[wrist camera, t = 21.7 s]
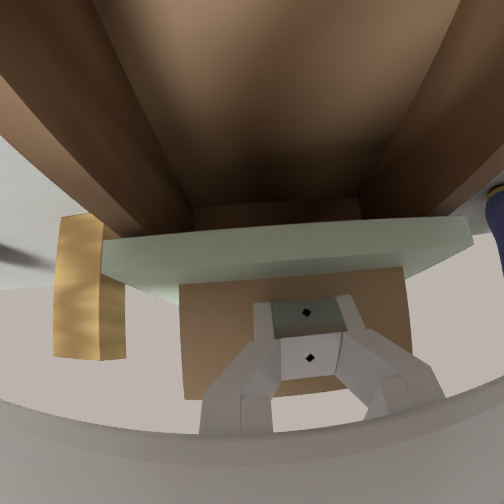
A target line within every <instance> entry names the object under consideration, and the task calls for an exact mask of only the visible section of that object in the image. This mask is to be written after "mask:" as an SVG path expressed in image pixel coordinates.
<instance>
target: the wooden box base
mask: <svg viewBox="0 0 504 504" xmlns="http://www.w3.org/2000/svg"><path fill="white" fill-rule="evenodd" d="M0 135H1V136H2V137H3V138H4V139H5V140H6V141H7V142H8V143H9V144H10V145H12V146H13V147H14V148H15V149H16V150H17V151H18V152H19V153H20V154H21V155H22V156H24V157H25V158H26V159H27V160H28V161H29V162H30V163H31V164H33V165H34V166H35V167H36V168H37V169H38V170H39V171H41V172H42V173H43V174H44V175H45V176H46V177H48V178H49V179H50V180H51V181H52V182H53V183H55V184H56V185H57V186H58V187H59V188H60V189H62V190H63V191H64V192H65V193H66V194H68V195H69V196H70V197H71V198H73V199H74V200H75V201H76V202H77V203H79V204H80V205H81V206H82V207H84V208H85V209H86V210H87V211H89V212H90V213H91V214H92V215H94V216H95V217H96V218H97V219H99V220H100V221H101V222H102V223H104V224H105V225H106V226H107V227H109V228H110V229H111V230H113V231H114V232H115V233H117V234H118V235H119V236H120V237H122V238H133V237H143V236H153V235H164V234H175V233H186V232H197V231H209V230H221V229H233V228H246V227H260V226H273V225H288V224H303V223H318V222H335V221H353V220H371V219H392V218H415V217H441V216H448V215H449V214H450V213H452V212H453V211H454V210H455V209H457V208H458V207H459V206H461V205H462V204H463V203H464V202H466V201H467V200H468V199H469V198H470V197H472V196H473V195H474V194H475V193H477V192H478V191H479V190H480V189H481V188H483V187H484V186H485V185H486V184H487V183H489V182H490V181H491V180H492V179H493V178H494V177H496V176H497V175H498V174H499V173H500V172H501V171H502V170H504V0H0Z"/></svg>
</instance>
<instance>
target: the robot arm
mask: <svg viewBox="0 0 504 504" xmlns="http://www.w3.org/2000/svg"><path fill="white" fill-rule="evenodd" d="M253 314H254V341H249V342H248V343H247V345H246V346H245V347H244V348H243V349H242V351H241V352H240V353H239V354H238V355H237V356H236V358H235V359H234V360H233V361H232V362H231V363H230V365H229V366H228V367H227V368H226V369H225V370H224V371H223V373H222V374H221V375H220V376H219V377H218V378H217V379H216V381H215V382H214V383H213V384H212V385H211V386H210V387H209V388H208V390H207V391H206V392H205V393H204V394H203V401H202V411H201V419H200V429H199V434H198V435H197V434H176V433H175V434H174V433H161V432H149V431H139V430H130V429H123V428H117V427H110V426H104V425H98V424H92V423H87V422H82V421H77V420H72V419H68V418H63V417H59V416H54V415H51V414H47V413H43V412H39V411H36V410H32V409H29V408H26V407H22V406H19V405H16V404H12V403H10V402H6V401H4V400H1V399H0V504H504V376H502V377H500V378H497V379H495V380H493V381H490V382H488V383H486V384H483V385H481V386H478V387H476V388H473V389H471V390H468V391H466V392H463V393H460V394H457V395H454V396H451V397H449V398H446V397H445V395H444V393H443V391H442V389H441V387H440V385H439V383H438V381H437V379H436V377H435V375H434V373H433V371H432V369H431V367H430V366H429V365H428V364H426V363H424V362H423V361H421V360H420V359H418V358H417V357H415V356H413V355H412V354H410V353H409V352H407V351H406V350H404V349H402V348H401V347H399V346H398V345H396V344H394V343H393V342H391V341H390V340H388V339H387V338H385V337H383V336H382V335H380V334H379V333H377V332H376V331H374V330H372V329H366V327H365V325H364V323H363V320H362V318H361V316H360V314H359V311H358V309H357V307H356V305H355V303H354V300H353V298H352V296H351V295H350V294H347V295H339V296H334V297H326V298H316V299H306V300H289V301H272V302H271V303H270V302H258V303H254V304H253ZM328 375H335V376H336V377H337V378H338V379H339V380H340V381H341V382H342V383H343V384H344V385H345V386H346V387H347V388H348V389H349V390H350V391H351V392H352V393H353V394H354V395H356V396H357V397H358V398H359V399H360V400H361V401H362V402H363V403H364V404H365V405H366V406H367V407H368V411H367V413H366V415H365V418H364V420H363V421H358V422H353V423H348V424H342V425H335V426H330V427H322V428H315V429H307V430H298V431H289V432H277V433H273V426H272V413H271V399H272V397H273V396H274V394H275V392H276V391H277V389H278V387H279V385H280V384H281V381H283V380H292V379H300V378H307V377H318V376H328Z"/></svg>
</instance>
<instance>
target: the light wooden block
mask: <svg viewBox="0 0 504 504" xmlns="http://www.w3.org/2000/svg"><path fill="white" fill-rule="evenodd" d="M113 239H123V238H122V237H120V236H119V235H118V234H117V233H115V232H114V231H113V230H111V229H110V228H109V227H107V226H106V225H105V224H104V223H102V222H101V221H100V220H99V219H97V218H96V217H95V216H94V215H92V214H91V213H87V214H81V215H75V216H69V217H63V218H61V223H60V230H59V238H58V246H57V255H56V266H55V279H54V299H53V350H54V356H56V357H64V358H74V359H84V360H95V361H104V360H115V359H125V358H126V338H125V284H124V283H122V282H120V281H118V280H115V279H113V278H111V277H109V276H106V275H104V274H102V273H101V263H102V248H103V240H113Z"/></svg>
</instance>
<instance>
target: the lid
mask: <svg viewBox="0 0 504 504" xmlns="http://www.w3.org/2000/svg"><path fill="white" fill-rule="evenodd" d="M472 245H474V243H473V239H472V234H471V230H470V226H469V222H468V219H467V216H441V217H415V218H392V219H371V220H353V221H335V222H318V223H303V224H288V225H273V226H260V227H246V228H233V229H221V230H209V231H197V232H186V233H175V234H164V235H153V236H143V237H133V238H123V239H113V240H103V248H102V263H101V273H102V274H104V275H106V276H109V277H111V278H113V279H115V280H118V281H120V282H122V283H124V284H127V285H129V286H131V287H134V288H136V289H139V290H141V291H143V292H146V293H148V294H151V295H153V296H155V297H158V298H160V299H163V300H165V301H168V302H170V303H173V304H175V305H178V306H179V314H180V336H181V337H180V339H181V357H182V371H183V386H184V398H185V400H203V394H204V393H205V392H206V391H207V390H208V388H209V387H210V386H211V385H212V384H213V383H214V382H215V381H216V379H217V378H218V377H219V376H220V375H221V374H222V373H223V371H224V370H225V369H226V368H227V367H228V366H229V365H230V363H231V362H232V361H233V360H234V359H235V358H236V356H237V355H238V354H239V353H240V352H241V351H242V349H243V348H244V347H245V346H246V345H247V343H248V342H249V341H254V314H253V304H254V303H258V302H270V303H271V302H272V301H289V300H306V299H316V298H326V297H334V296H339V295H347V294H350V295H351V296H352V298H353V300H354V303H355V305H356V307H357V309H358V311H359V314H360V316H361V318H362V320H363V323H364V325H365V327H366V329H372V330H374V331H376V332H377V333H379V334H380V335H382V336H383V337H385V338H387V339H388V340H390V341H391V342H393V343H394V344H396V345H398V346H399V347H401V348H402V349H404V350H406V351H407V352H409V353H410V354H412V340H411V328H410V318H409V309H408V301H407V293H406V287H405V279H407V278H409V277H411V276H413V275H415V274H418V273H420V272H422V271H424V270H426V269H428V268H430V267H432V266H434V265H436V264H438V263H440V262H442V261H444V260H446V259H448V258H449V257H451V256H453V255H455V254H457V253H459V252H461V251H463V250H465V249H466V248H468V247H470V246H472ZM412 355H413V354H412ZM341 389H347V387H346V386H345V385H344V384H343V383H342V382H341V381H340V380H339V379H338V378H337V377H336V376H335V375H328V376H318V377H307V378H300V379H292V380H283V381H281V384H280V385H279V387H278V389H277V391H276V392H275V394H274V396H273V397H283V396H293V395H303V394H311V393H320V392H327V391H334V390H341Z"/></svg>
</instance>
